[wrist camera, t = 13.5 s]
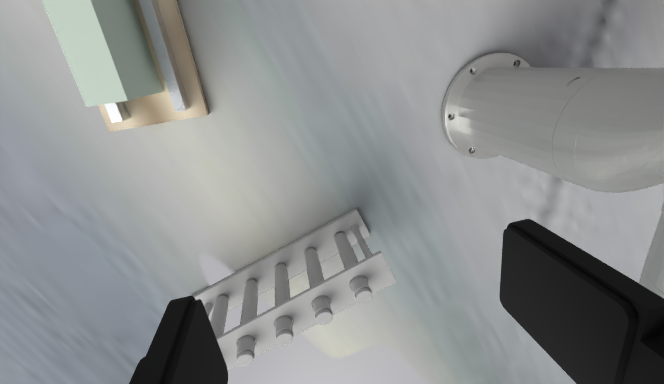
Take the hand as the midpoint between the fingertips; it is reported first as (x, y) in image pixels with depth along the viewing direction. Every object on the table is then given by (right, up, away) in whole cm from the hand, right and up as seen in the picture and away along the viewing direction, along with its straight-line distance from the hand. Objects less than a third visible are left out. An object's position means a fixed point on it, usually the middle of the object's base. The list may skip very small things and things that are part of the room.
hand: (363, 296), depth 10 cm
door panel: (-20, +19, +21) cm, 35 cm away
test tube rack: (-8, -7, +34) cm, 36 cm away
